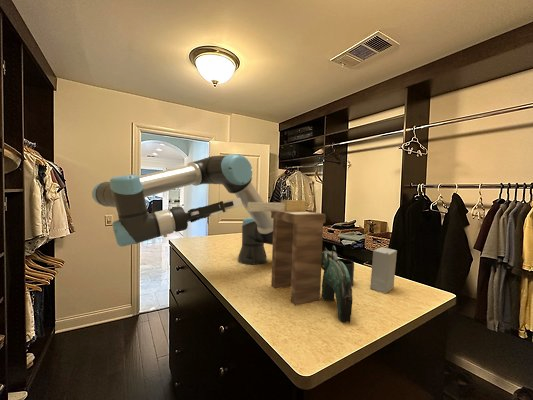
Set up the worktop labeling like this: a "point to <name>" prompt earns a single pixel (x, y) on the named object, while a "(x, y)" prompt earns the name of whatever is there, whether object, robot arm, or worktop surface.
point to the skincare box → (383, 269)
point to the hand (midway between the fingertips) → (233, 205)
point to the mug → (349, 267)
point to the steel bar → (278, 206)
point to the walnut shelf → (298, 254)
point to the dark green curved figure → (337, 284)
